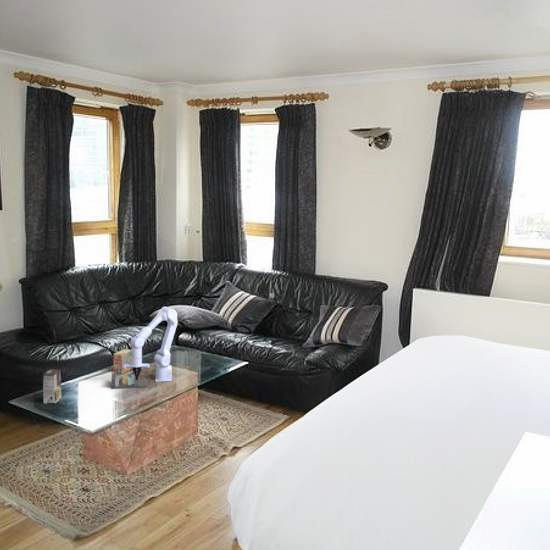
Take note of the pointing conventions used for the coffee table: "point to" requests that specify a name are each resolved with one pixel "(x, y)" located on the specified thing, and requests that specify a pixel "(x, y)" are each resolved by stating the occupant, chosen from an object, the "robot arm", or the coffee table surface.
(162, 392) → the coffee table surface
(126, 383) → the brass block
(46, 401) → the coffee box
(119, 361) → the stack of blocks
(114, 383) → the grey slab
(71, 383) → the coffee table surface
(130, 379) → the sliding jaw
